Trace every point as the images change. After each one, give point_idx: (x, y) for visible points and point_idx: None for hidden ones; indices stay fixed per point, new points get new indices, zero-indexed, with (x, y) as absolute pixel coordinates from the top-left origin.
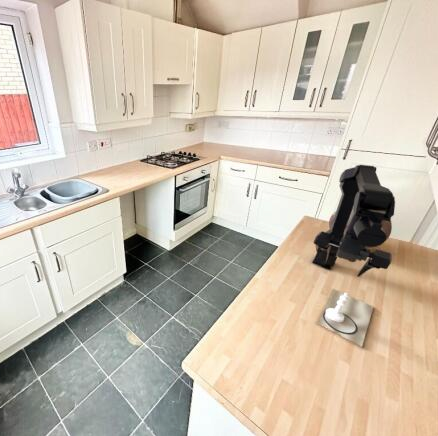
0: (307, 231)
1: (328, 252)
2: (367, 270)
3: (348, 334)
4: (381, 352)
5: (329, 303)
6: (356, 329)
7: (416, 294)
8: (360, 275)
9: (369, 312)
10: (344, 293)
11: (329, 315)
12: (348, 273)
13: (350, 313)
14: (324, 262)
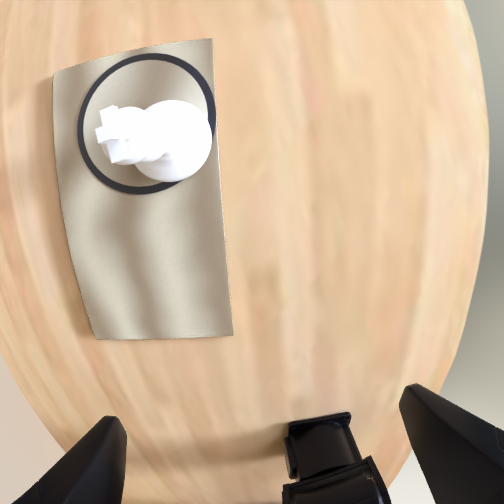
0: None
1: (461, 493)
2: (23, 494)
3: (97, 79)
4: (14, 117)
5: (218, 214)
6: (80, 137)
7: None
8: (88, 432)
9: (87, 296)
10: (127, 158)
11: (186, 104)
12: (232, 443)
13: (126, 224)
14: (420, 391)
